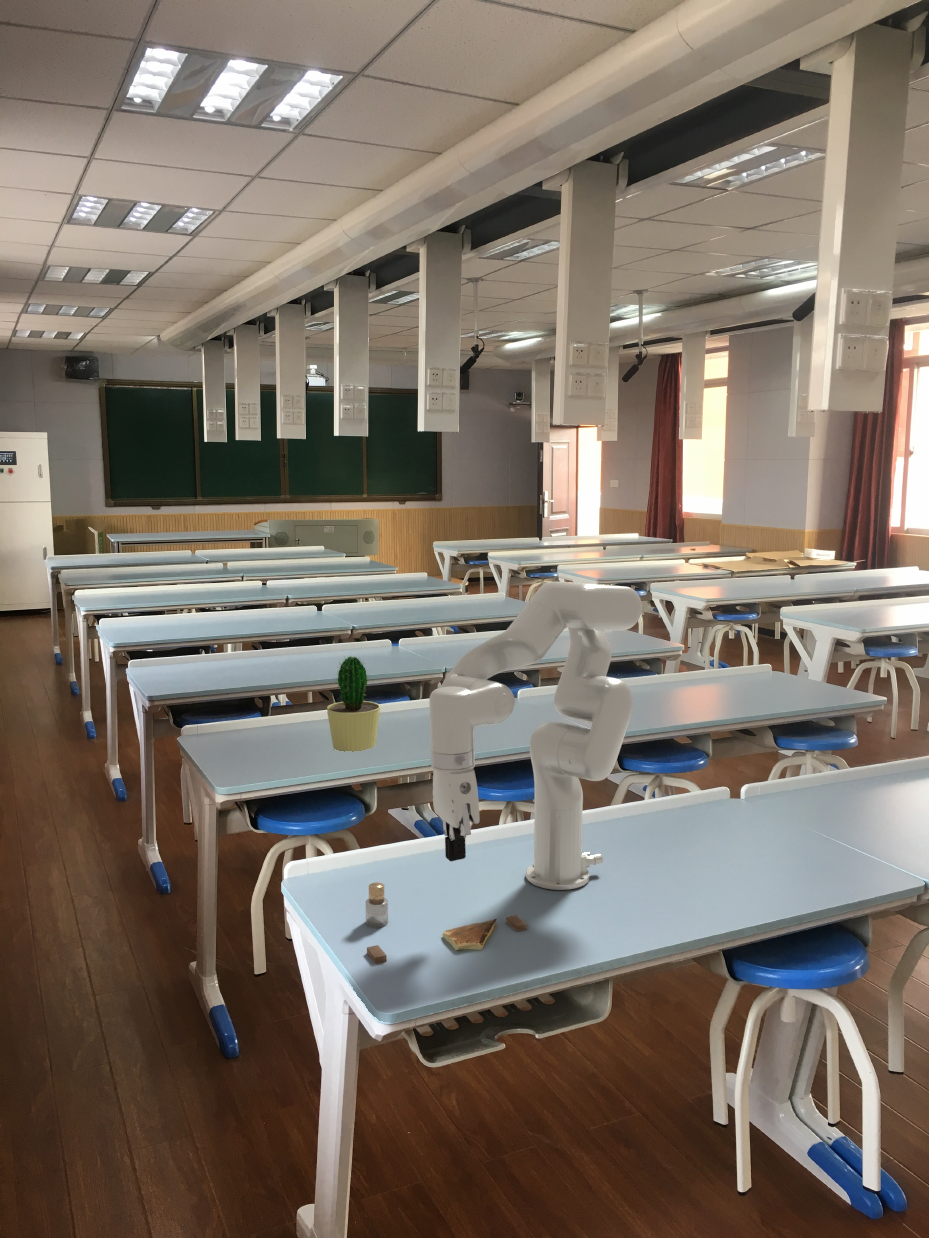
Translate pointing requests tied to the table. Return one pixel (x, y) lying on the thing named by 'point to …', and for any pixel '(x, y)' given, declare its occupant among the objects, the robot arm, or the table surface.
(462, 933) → the shard
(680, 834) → the table surface
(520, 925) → the small brown blocks
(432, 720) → the robot arm
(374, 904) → the gold capped bottle
